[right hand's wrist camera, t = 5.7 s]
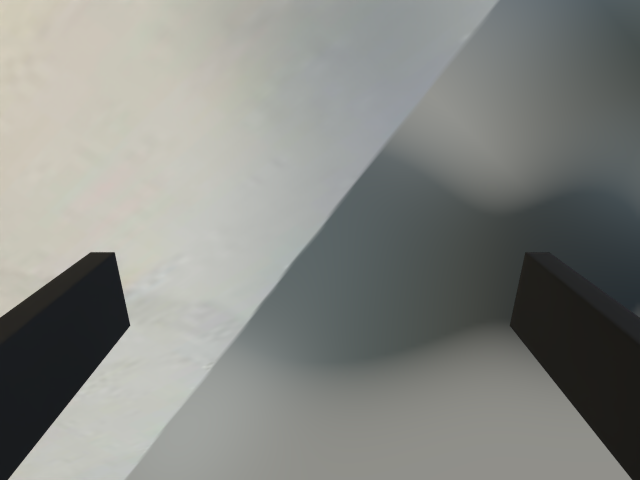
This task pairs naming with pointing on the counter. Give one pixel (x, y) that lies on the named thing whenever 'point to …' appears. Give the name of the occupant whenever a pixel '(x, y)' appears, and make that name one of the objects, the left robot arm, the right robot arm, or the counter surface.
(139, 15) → the counter surface
